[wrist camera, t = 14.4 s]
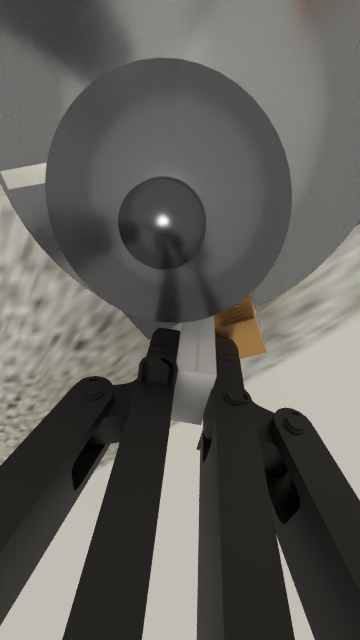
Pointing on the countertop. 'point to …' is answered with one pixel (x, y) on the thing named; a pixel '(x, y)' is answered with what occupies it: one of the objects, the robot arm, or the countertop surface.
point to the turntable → (216, 53)
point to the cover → (168, 190)
